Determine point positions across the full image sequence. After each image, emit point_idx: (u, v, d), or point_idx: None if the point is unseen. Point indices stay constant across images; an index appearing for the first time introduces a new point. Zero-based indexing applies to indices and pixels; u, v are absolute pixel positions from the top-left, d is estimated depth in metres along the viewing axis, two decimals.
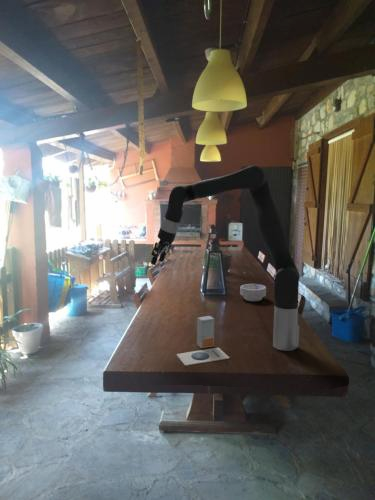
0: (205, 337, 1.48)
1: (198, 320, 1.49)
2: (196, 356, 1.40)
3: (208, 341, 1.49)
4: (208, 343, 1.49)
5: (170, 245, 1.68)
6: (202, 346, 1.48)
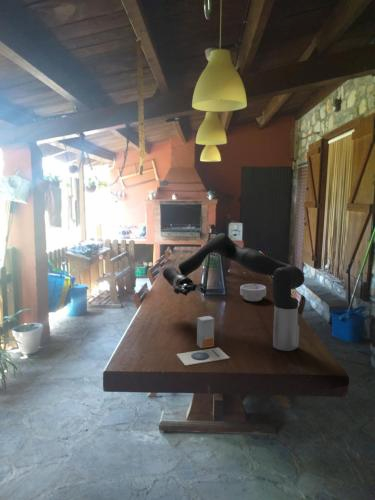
0: (205, 337, 1.48)
1: (198, 320, 1.49)
2: (196, 356, 1.40)
3: (208, 341, 1.49)
4: (208, 343, 1.49)
5: (201, 284, 1.68)
6: (202, 346, 1.48)
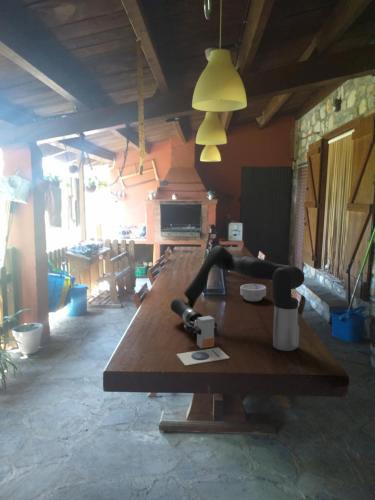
0: (205, 337, 1.48)
1: (198, 320, 1.49)
2: (196, 356, 1.40)
3: (208, 341, 1.49)
4: (208, 343, 1.49)
5: None
6: (202, 346, 1.48)
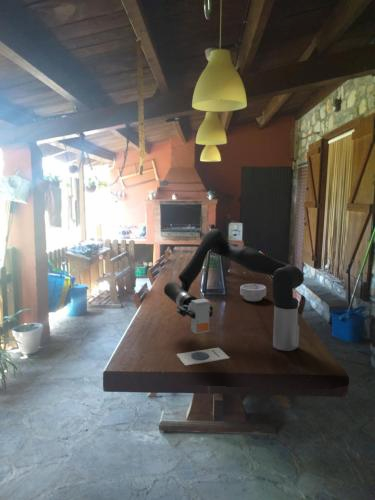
0: (199, 322, 1.36)
1: (192, 303, 1.37)
2: (196, 356, 1.40)
3: (203, 325, 1.37)
4: (203, 328, 1.37)
5: None
6: (196, 331, 1.36)
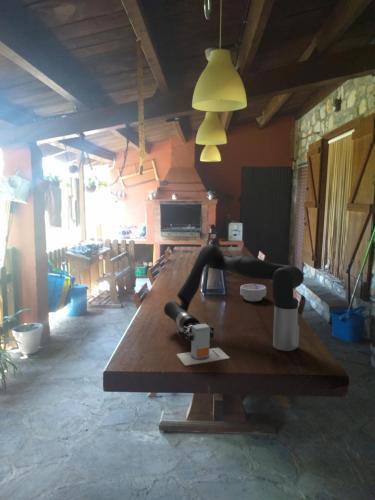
0: (200, 347, 1.38)
1: (192, 328, 1.39)
2: None
3: (203, 351, 1.38)
4: (203, 353, 1.39)
5: (208, 324, 1.47)
6: (196, 356, 1.38)
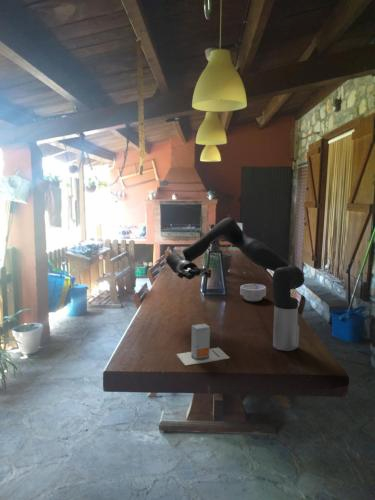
0: (200, 347, 1.38)
1: (192, 328, 1.39)
2: None
3: (203, 351, 1.38)
4: (203, 353, 1.39)
5: (205, 268, 1.62)
6: (196, 356, 1.38)
